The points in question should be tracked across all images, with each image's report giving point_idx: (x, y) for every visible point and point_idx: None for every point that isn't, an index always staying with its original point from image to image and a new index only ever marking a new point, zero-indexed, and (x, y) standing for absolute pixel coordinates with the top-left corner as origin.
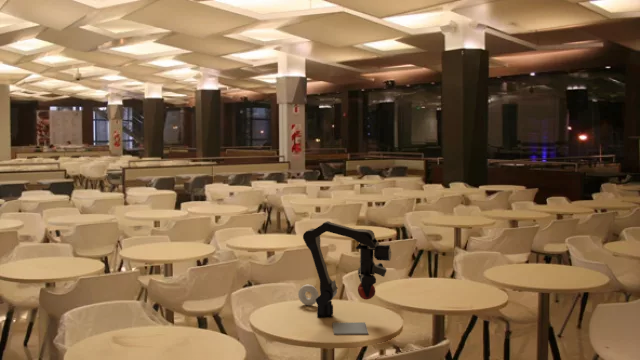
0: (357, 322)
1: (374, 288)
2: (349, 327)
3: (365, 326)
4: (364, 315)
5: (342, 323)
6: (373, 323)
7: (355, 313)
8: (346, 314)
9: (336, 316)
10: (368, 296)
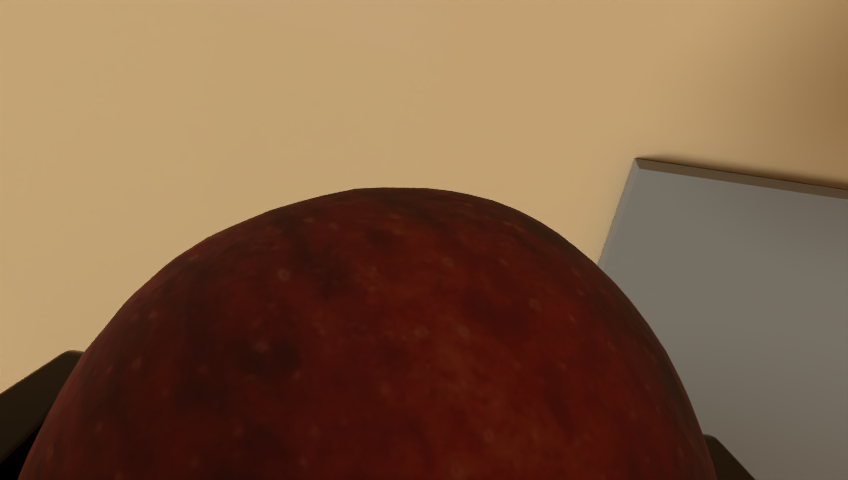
0: (603, 265)
1: (544, 415)
2: (766, 388)
3: (829, 209)
4: (198, 62)
5: None
6: (659, 23)
7: (97, 171)
8: None
9: None
10: (722, 448)
